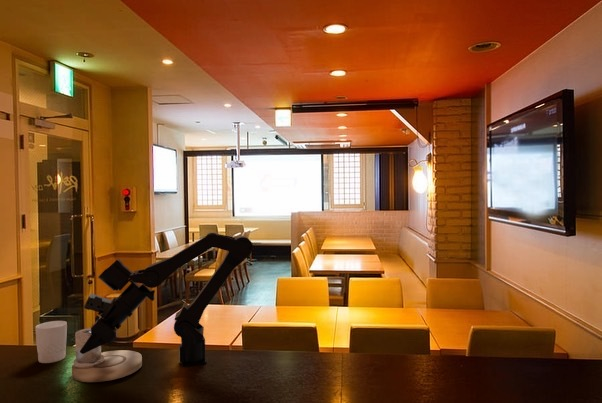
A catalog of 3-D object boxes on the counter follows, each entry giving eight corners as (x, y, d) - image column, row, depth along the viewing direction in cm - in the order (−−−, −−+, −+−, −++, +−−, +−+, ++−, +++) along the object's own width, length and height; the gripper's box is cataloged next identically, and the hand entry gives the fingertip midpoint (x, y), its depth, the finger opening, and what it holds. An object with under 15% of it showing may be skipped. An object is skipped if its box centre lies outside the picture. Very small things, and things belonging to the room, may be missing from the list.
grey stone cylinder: (105, 357, 119) (104, 325, 119) (102, 366, 112) (101, 333, 112) (75, 361, 116) (74, 329, 116) (71, 370, 110) (70, 336, 109)
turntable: (142, 355, 126) (142, 347, 126) (141, 377, 110) (141, 367, 110) (77, 364, 121) (77, 355, 121) (66, 388, 105) (66, 378, 105)
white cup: (53, 365, 121) (52, 329, 121) (29, 363, 122) (28, 327, 122) (73, 355, 128) (73, 321, 128) (50, 353, 130) (50, 320, 130)
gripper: (106, 277, 124) (64, 320, 121) (100, 289, 107) (50, 340, 103) (136, 302, 127) (96, 345, 123) (135, 318, 109) (87, 368, 106)
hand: (82, 348), depth 114 cm, fingers closed on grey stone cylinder, 6 cm apart
